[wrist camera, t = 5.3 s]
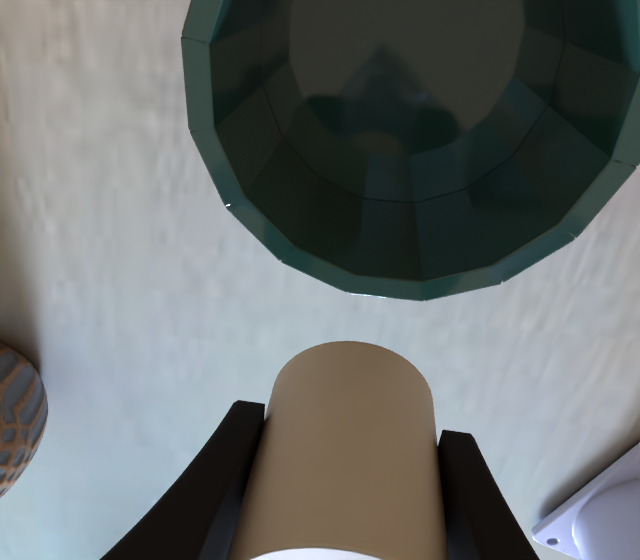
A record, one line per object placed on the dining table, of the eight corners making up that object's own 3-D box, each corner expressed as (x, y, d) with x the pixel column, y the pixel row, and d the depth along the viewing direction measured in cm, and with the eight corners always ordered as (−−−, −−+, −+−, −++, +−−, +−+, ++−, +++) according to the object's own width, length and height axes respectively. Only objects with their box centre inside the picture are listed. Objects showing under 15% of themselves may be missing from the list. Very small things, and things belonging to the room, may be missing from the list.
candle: (465, 382, 12) (507, 605, 8) (383, 477, 14) (382, 694, 10) (312, 314, 12) (267, 512, 7) (250, 422, 14) (188, 627, 9)
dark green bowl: (661, -30, 13) (807, -29, 9) (455, 256, 18) (478, 354, 14) (330, -233, 12) (292, -358, 7) (204, 133, 17) (134, 195, 12)
